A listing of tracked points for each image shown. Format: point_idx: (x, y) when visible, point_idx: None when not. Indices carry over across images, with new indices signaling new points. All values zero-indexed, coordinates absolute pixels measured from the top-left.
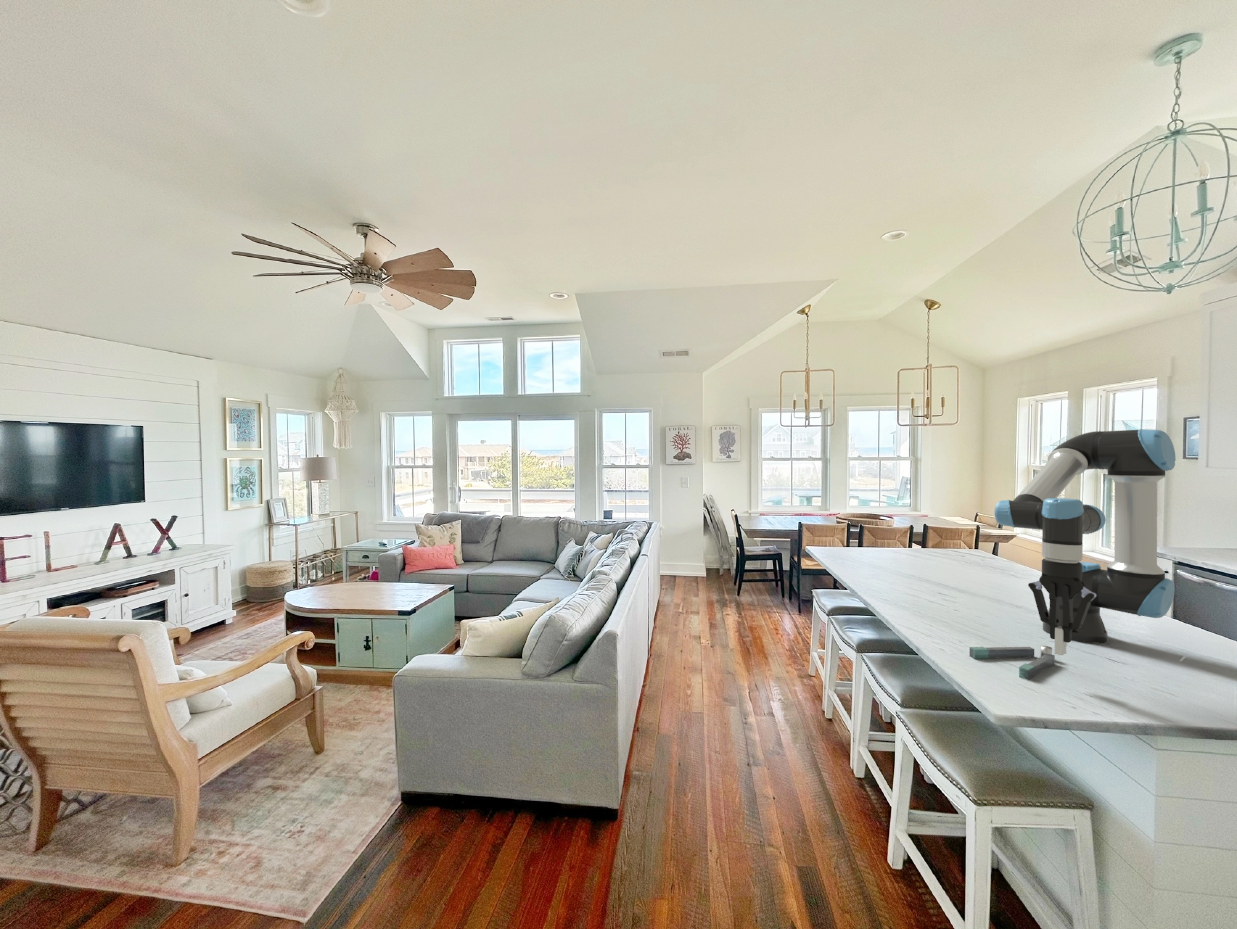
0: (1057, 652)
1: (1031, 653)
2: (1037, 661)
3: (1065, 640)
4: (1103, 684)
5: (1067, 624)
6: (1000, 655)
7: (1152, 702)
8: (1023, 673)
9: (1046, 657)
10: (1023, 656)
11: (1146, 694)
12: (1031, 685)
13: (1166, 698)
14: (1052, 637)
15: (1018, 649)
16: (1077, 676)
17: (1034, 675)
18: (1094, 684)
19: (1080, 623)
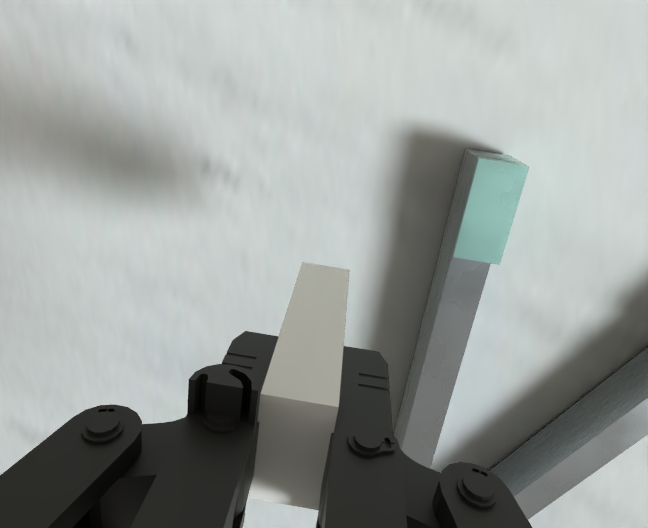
0: (331, 272)
1: None
2: (447, 354)
3: (265, 342)
4: (202, 364)
5: (188, 450)
6: (614, 386)
7: (35, 294)
8: (496, 156)
9: (416, 445)
10: (509, 460)
11: (73, 368)
12: (443, 81)
13: (22, 377)
14: (366, 356)
15: (543, 473)
16: None
17: (444, 235)
18: (226, 338)
19: (4, 474)
